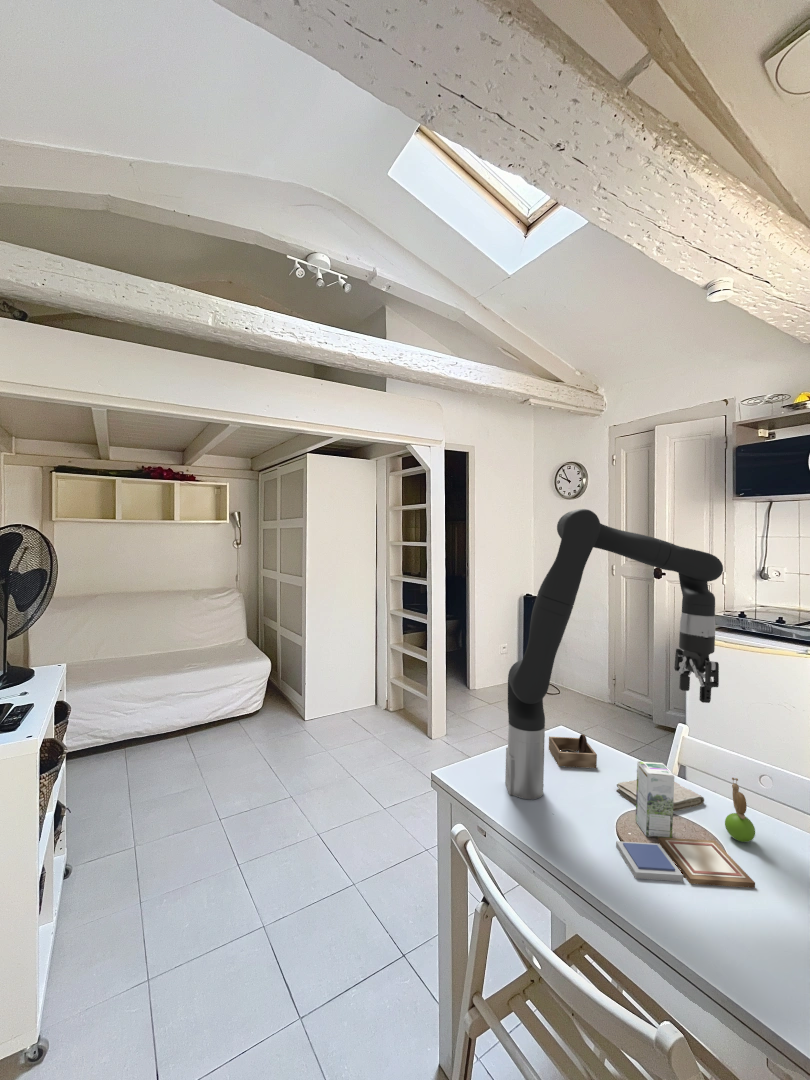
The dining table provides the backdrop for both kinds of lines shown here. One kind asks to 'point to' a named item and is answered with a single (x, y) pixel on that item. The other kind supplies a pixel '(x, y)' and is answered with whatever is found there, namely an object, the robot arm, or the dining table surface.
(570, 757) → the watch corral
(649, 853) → the ink pad
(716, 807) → the dining table surface
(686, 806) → the washcloth
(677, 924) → the dining table surface
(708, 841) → the board
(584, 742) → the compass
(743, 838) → the snail figurine
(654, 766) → the syrup box
